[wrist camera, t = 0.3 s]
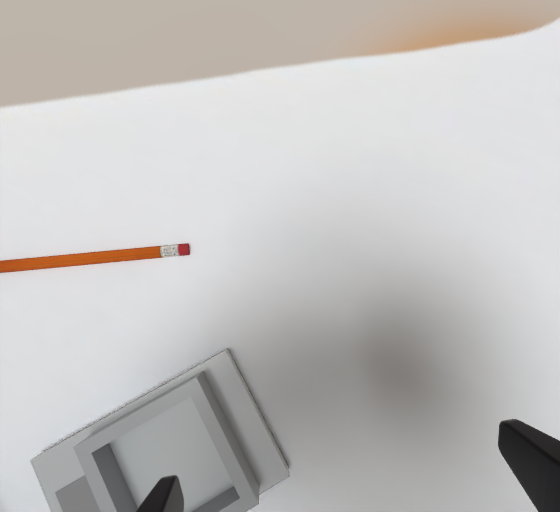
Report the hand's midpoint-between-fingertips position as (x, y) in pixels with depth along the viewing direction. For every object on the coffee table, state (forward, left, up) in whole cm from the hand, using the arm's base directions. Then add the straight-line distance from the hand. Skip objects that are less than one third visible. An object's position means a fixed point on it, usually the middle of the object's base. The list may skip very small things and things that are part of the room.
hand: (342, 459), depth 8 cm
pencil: (+15, +12, -14) cm, 24 cm away
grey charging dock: (-1, +11, -14) cm, 18 cm away
